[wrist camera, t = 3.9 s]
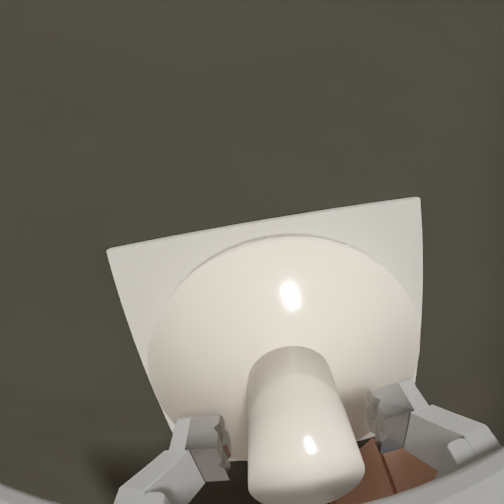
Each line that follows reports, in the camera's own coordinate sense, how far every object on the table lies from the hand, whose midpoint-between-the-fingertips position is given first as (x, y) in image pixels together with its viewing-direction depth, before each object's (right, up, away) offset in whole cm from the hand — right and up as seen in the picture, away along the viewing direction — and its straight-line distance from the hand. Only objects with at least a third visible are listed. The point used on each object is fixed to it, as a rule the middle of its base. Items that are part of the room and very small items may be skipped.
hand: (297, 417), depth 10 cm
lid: (0, +1, +3) cm, 3 cm away
